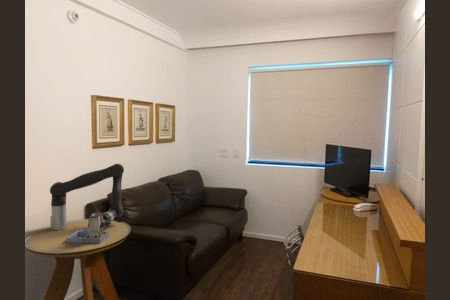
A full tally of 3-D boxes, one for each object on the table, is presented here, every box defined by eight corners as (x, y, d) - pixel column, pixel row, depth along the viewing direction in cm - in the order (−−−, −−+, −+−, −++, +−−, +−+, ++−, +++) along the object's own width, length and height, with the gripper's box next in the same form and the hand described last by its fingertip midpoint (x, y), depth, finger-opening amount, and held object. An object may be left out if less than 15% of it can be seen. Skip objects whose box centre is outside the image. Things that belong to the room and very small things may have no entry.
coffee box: (93, 236, 202) (93, 212, 201) (103, 235, 203) (103, 212, 202) (88, 241, 193) (88, 216, 192) (99, 241, 194) (98, 216, 193)
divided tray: (66, 242, 193) (66, 235, 192) (77, 235, 206) (77, 229, 205) (100, 243, 191) (100, 237, 191) (109, 236, 204) (109, 230, 204)
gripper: (96, 212, 212) (83, 220, 195) (116, 213, 211) (105, 220, 194) (96, 223, 212) (83, 231, 196) (116, 223, 212) (105, 232, 195)
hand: (94, 226), depth 195 cm, fingers closed on coffee box, 7 cm apart
